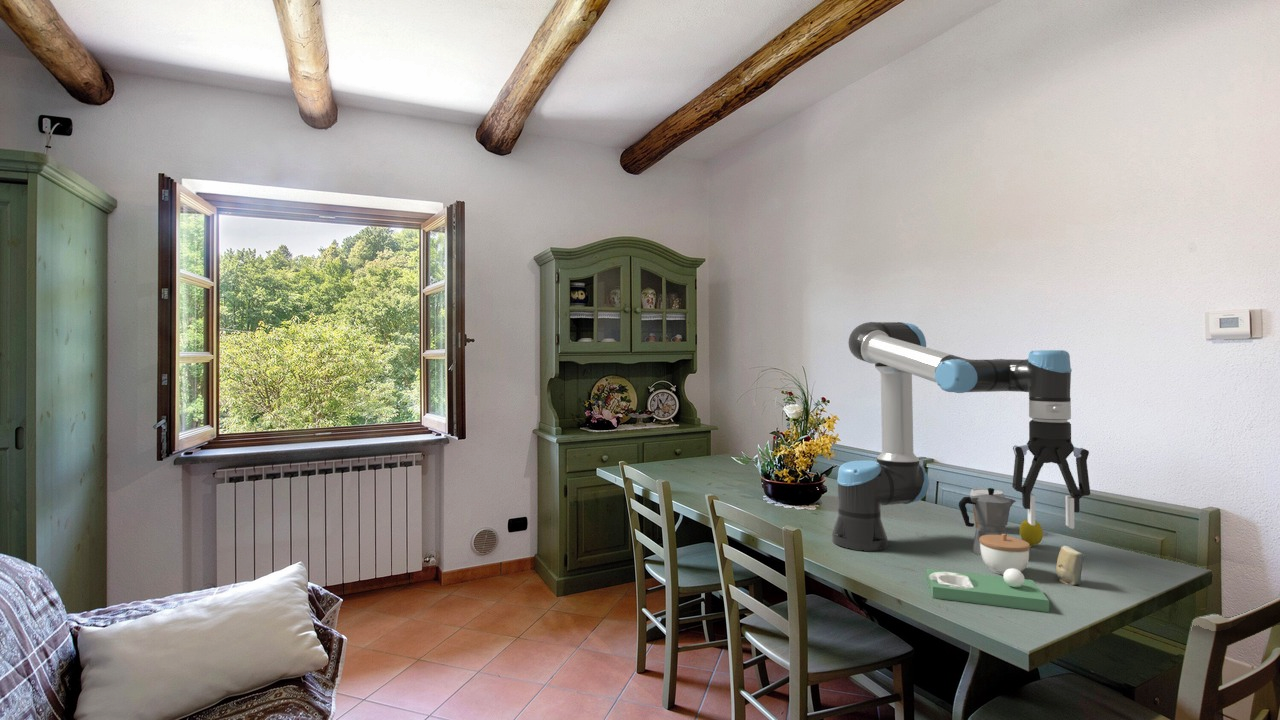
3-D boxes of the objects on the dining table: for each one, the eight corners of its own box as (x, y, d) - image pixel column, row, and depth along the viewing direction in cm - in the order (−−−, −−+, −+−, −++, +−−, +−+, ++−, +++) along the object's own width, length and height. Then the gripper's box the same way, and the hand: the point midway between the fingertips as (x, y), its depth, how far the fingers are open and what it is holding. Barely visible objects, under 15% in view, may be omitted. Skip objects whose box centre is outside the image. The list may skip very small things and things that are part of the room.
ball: (1005, 588, 127) (1005, 570, 127) (1001, 582, 131) (1001, 564, 131) (1026, 591, 126) (1026, 573, 126) (1021, 584, 129) (1021, 566, 129)
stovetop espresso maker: (1012, 533, 176) (1011, 494, 176) (980, 533, 176) (980, 494, 176) (993, 524, 185) (993, 487, 185) (963, 524, 185) (963, 487, 185)
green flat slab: (932, 597, 129) (932, 586, 129) (926, 578, 140) (926, 568, 140) (1049, 612, 121) (1049, 600, 121) (1032, 590, 132) (1032, 580, 132)
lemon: (1035, 543, 166) (1035, 515, 166) (1047, 549, 161) (1047, 521, 161) (1015, 543, 167) (1015, 515, 167) (1026, 549, 161) (1026, 520, 161)
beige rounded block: (1089, 584, 136) (1089, 550, 136) (1079, 588, 133) (1078, 554, 133) (1062, 576, 141) (1061, 543, 141) (1051, 580, 138) (1051, 547, 138)
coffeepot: (1004, 547, 163) (1004, 484, 163) (1026, 559, 153) (1026, 491, 153) (950, 548, 163) (949, 484, 163) (969, 559, 153) (968, 492, 153)
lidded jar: (1031, 582, 137) (1030, 543, 137) (979, 574, 143) (978, 536, 143) (1029, 568, 146) (1028, 532, 146) (980, 561, 152) (979, 525, 152)
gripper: (1002, 420, 126) (1003, 525, 126) (1110, 423, 119) (1111, 534, 119) (994, 417, 133) (995, 516, 133) (1096, 419, 126) (1097, 524, 126)
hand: (1050, 525), depth 126 cm, fingers open, 6 cm apart
